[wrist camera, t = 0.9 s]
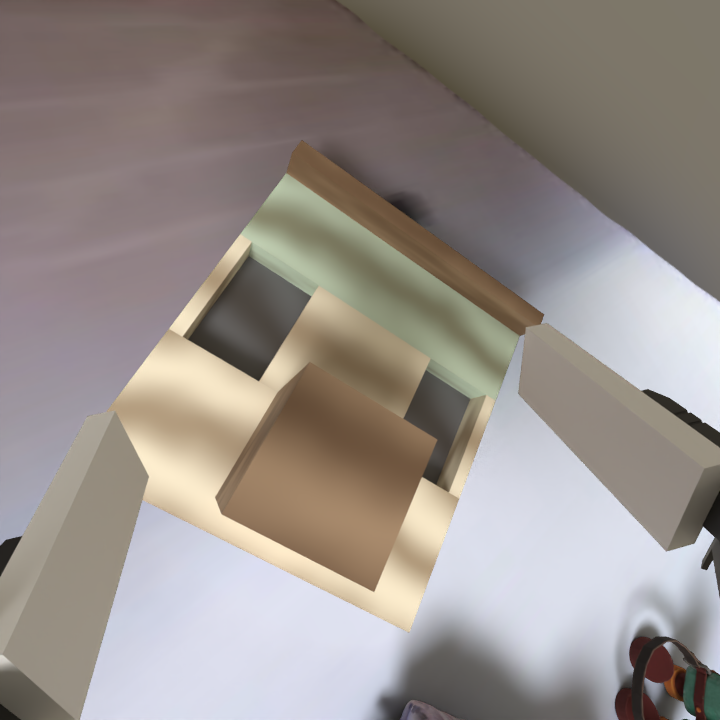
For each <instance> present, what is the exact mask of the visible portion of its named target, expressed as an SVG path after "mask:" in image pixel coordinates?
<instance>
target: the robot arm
mask: <svg viewBox="0 0 720 720" xmlns="http://www.w3.org/2000/svg"><path fill="white" fill-rule="evenodd" d="M518 394H519V395H520V396H521V397H522V398H523V399H524V400H525V402H526V403H527V404H528V405H529V406H530V407H531V408H532V409H533V410H534V411H535V412H536V413H537V414H538V415H539V416H540V417H541V419H542V420H543V421H544V422H545V423H546V424H547V425H548V426H549V427H550V428H551V429H552V430H553V431H554V432H555V433H556V435H557V436H558V437H559V438H560V439H561V440H562V441H563V442H564V443H565V444H566V445H567V446H568V447H569V448H570V449H571V451H572V452H573V453H574V454H575V455H576V456H577V457H578V458H579V459H580V460H581V461H582V462H583V463H584V464H585V465H586V466H587V468H588V469H589V470H590V471H591V472H592V473H593V474H594V475H595V476H596V477H597V478H598V479H599V480H600V481H601V482H602V484H603V485H604V486H605V487H606V488H607V489H608V490H609V491H610V492H611V493H612V494H613V495H614V496H615V497H616V498H617V499H618V501H619V502H620V503H621V504H622V505H623V506H624V507H625V508H626V509H627V510H628V511H629V512H630V513H631V514H632V515H633V517H634V518H635V519H636V520H637V521H638V522H639V523H640V524H641V525H642V526H643V527H644V528H645V529H646V530H647V531H648V533H649V534H650V535H651V536H652V537H653V538H654V539H655V540H656V541H657V542H658V543H659V544H660V545H661V546H662V547H663V548H664V550H665V551H666V552H667V551H670V550H673V549H677V548H680V547H684V546H687V545H691V544H694V543H695V541H696V539H697V538H698V536H699V534H700V532H701V530H702V528H703V527H704V528H706V529H707V530H708V531H709V532H710V533H711V534H712V535H713V536H714V537H715V538H714V540H713V542H712V544H711V545H710V547H709V549H708V551H707V553H706V555H705V557H704V558H703V560H702V565H701V569H705V570H707V569H708V567H709V565H710V564H711V562H712V561H713V560H714V566H715V573H716V578H717V584H718V590H719V596H720V432H718V431H717V430H715V429H714V428H712V427H711V426H709V425H708V424H706V423H702V421H701V419H699V418H698V417H696V416H695V415H693V414H692V413H688V412H687V410H686V409H685V408H683V407H682V406H680V405H679V404H677V403H676V402H675V401H673V400H672V399H670V398H668V397H666V396H663V395H661V394H658V393H656V392H654V391H651V390H649V389H647V390H643V391H640V390H639V389H638V388H636V387H635V386H633V385H632V384H631V383H629V382H628V381H626V380H625V379H624V378H622V377H621V376H620V375H618V374H617V373H615V372H614V371H613V370H611V369H610V368H608V367H607V366H606V365H604V364H603V363H601V362H600V361H599V360H597V359H596V358H595V357H593V356H592V355H590V354H589V353H588V352H586V351H585V350H583V349H582V348H581V347H579V346H578V345H577V344H575V343H574V342H572V341H571V340H570V339H568V338H567V337H565V336H564V335H563V334H561V333H560V332H558V331H557V330H556V329H554V328H553V327H552V326H550V325H549V324H547V323H545V324H540V325H535V326H530V327H526V331H525V340H524V349H523V357H522V366H521V374H520V383H519V391H518ZM148 478H149V475H148V473H147V471H146V469H145V468H144V466H143V464H142V462H141V460H140V458H139V456H138V454H137V452H136V450H135V448H134V446H133V444H132V442H131V440H130V438H129V436H128V435H127V433H126V431H125V429H124V427H123V425H122V423H121V421H120V419H119V417H118V415H117V413H116V411H110V412H106V413H101V414H96V415H91V416H87V418H86V420H85V422H84V424H83V426H82V427H81V429H80V431H79V433H78V435H77V437H76V439H75V440H74V442H73V444H72V446H71V448H70V450H69V451H68V453H67V455H66V457H65V459H64V461H63V462H62V464H61V466H60V468H59V470H58V472H57V473H56V475H55V477H54V479H53V481H52V483H51V485H50V486H49V488H48V490H47V492H46V494H45V496H44V497H43V499H42V501H41V503H40V505H39V507H38V508H37V510H36V512H35V514H34V516H33V518H32V519H31V521H30V523H29V525H28V527H27V529H26V531H25V532H24V534H23V536H21V537H16V538H12V539H8V540H5V541H4V542H3V544H2V545H1V546H0V720H80V717H81V713H82V710H83V706H84V703H85V699H86V696H87V692H88V689H89V685H90V682H91V678H92V675H93V671H94V668H95V664H96V661H97V657H98V654H99V650H100V647H101V643H102V640H103V636H104V633H105V629H106V626H107V622H108V619H109V615H110V612H111V608H112V605H113V601H114V598H115V594H116V590H117V587H118V583H119V580H120V576H121V573H122V569H123V566H124V562H125V559H126V555H127V552H128V548H129V545H130V541H131V538H132V534H133V531H134V527H135V524H136V520H137V517H138V513H139V510H140V506H141V503H142V499H143V496H144V492H145V489H146V485H147V482H148Z"/></svg>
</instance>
